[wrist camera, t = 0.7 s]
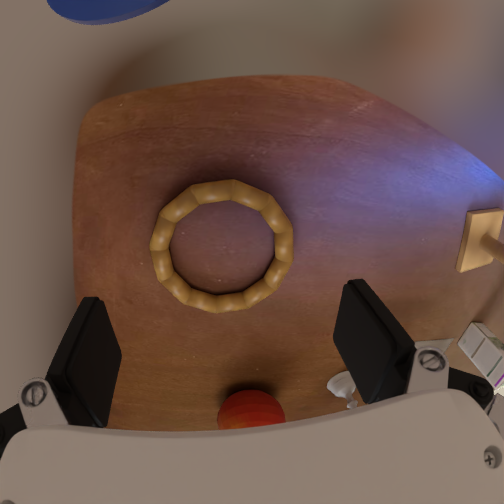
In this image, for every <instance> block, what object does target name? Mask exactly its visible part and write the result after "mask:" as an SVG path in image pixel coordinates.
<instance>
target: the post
mask: <svg viewBox="0 0 504 504" xmlns="http://www.w3.org/2000/svg"><path fill="white" fill-rule="evenodd" d="M503 213H504V210H502V209H500V208H495V209H486V210H477V211H468V212H467V216H466V221H465V227H464V232H463V237H462V242H461V247H460V251H459V256H458V260H457V264H456V268H455V269H456V270H457V271H458V272H460V273H461V272H464V271H467V270H470V269H473V268H477V267H480V266H483V265H486V264H489V263H492V260H493V257H494V258H495V259H497V260H498V261H500V262H501V263H502V264H504V244H502V243H501V242H499V241H498V237H499V233H500V228H501V223H502V218H503Z"/></svg>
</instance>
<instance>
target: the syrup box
mask: <svg viewBox="0 0 504 504" xmlns="http://www.w3.org/2000/svg"><path fill="white" fill-rule="evenodd" d="M457 344H458V346H459V347H460V348H461V349H462V350H463V351H464V353H465V354H466V355H467V356H468V357H469V358H470V360H471V361H472V362H473V363H474V364H475V366H476V367H477V368H478V369H479V370H480V371H481V373H482V374H483V375H484V376H485V377H486V379H487V380H488V381H489V382H490V384H491V385H492V386H493V387H494V389H495V390H498V389H500V388H503V387H504V344H503V343H502V342H501V341H500V340H499V339H498V338H497V337H496V336H495V335H494V334H493V333H492V332H491V331H490V330H489V329H488V328H487V327H486V326H485V325H484V324H483V323H477V322H471V324H470V325H469V326H468V328H467V329H466V331H465V332H464V334H463V335H462V337H461V338H460V340H459V341H458V343H457Z"/></svg>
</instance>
